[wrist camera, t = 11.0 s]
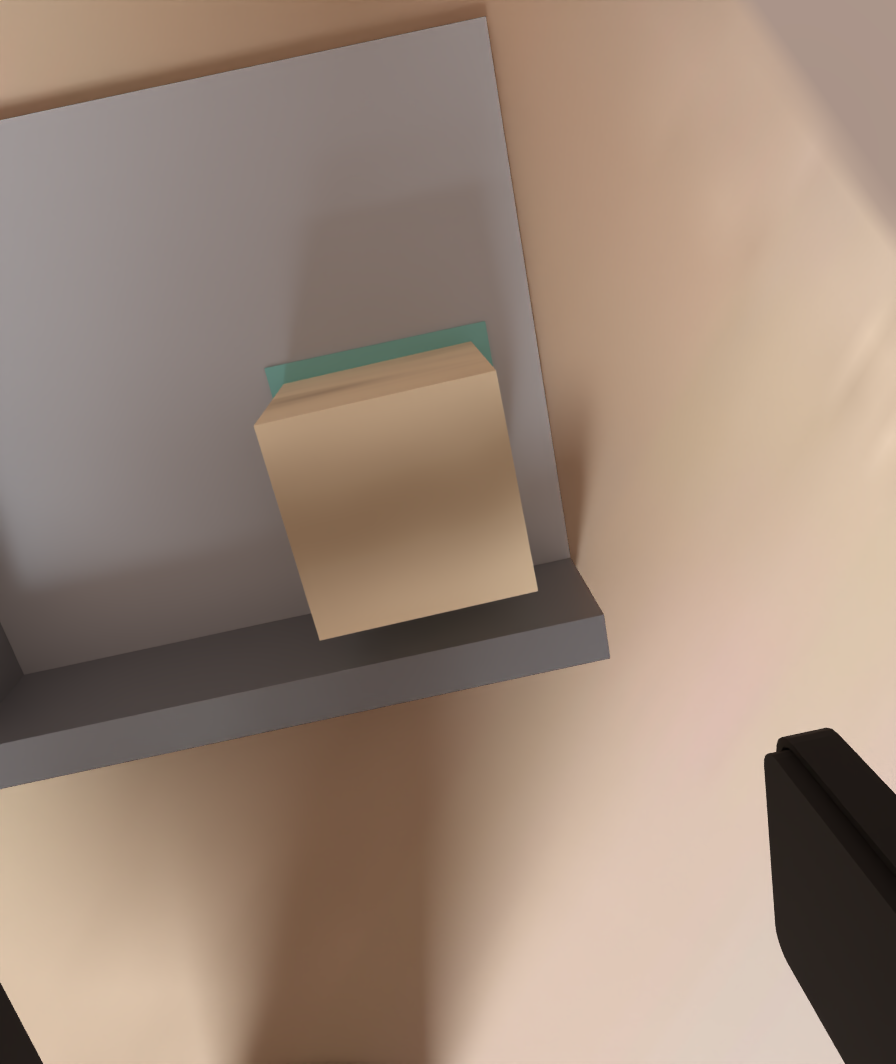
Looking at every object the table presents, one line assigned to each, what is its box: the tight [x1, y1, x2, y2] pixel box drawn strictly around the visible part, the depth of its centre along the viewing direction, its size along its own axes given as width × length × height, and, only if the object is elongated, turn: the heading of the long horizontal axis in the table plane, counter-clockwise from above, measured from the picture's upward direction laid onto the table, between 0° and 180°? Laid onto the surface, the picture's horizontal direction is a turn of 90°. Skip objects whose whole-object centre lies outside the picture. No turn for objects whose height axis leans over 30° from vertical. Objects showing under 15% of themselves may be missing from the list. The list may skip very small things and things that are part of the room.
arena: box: [0, 16, 610, 789], centre depth 23 cm, size 18×21×5 cm
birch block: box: [254, 341, 538, 640], centre depth 23 cm, size 6×6×6 cm
